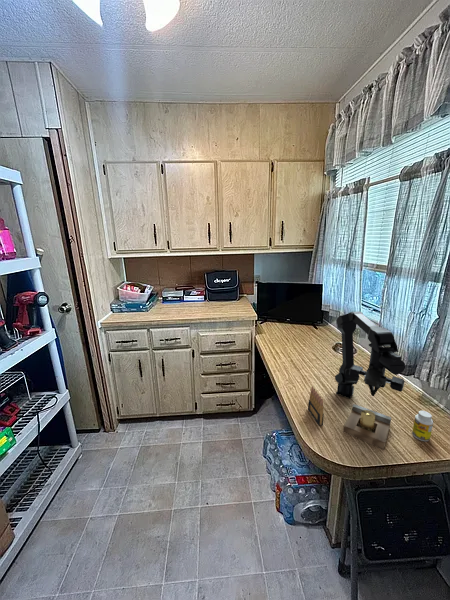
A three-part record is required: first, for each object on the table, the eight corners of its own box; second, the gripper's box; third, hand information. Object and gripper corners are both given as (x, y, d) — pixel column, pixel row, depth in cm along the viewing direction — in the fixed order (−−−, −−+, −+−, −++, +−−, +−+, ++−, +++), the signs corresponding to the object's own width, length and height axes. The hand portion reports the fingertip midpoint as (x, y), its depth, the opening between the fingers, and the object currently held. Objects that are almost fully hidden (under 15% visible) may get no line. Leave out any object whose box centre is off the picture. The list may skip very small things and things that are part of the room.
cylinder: (357, 432, 102) (360, 414, 100) (360, 425, 106) (362, 408, 104) (371, 437, 99) (374, 419, 97) (374, 430, 103) (376, 413, 101)
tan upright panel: (323, 425, 106) (325, 399, 103) (318, 425, 106) (320, 400, 103) (311, 408, 116) (313, 385, 114) (307, 409, 116) (309, 385, 114)
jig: (343, 432, 102) (344, 421, 101) (352, 413, 113) (353, 403, 112) (383, 449, 94) (385, 437, 92) (389, 428, 104) (391, 417, 103)
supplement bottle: (408, 433, 101) (412, 411, 99) (417, 429, 103) (422, 407, 101) (423, 444, 96) (428, 420, 94) (433, 439, 98) (438, 416, 95)
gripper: (346, 361, 101) (342, 395, 105) (403, 377, 90) (396, 416, 94) (354, 351, 110) (350, 384, 114) (407, 365, 98) (401, 401, 102)
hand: (372, 395), depth 105 cm, fingers closed
